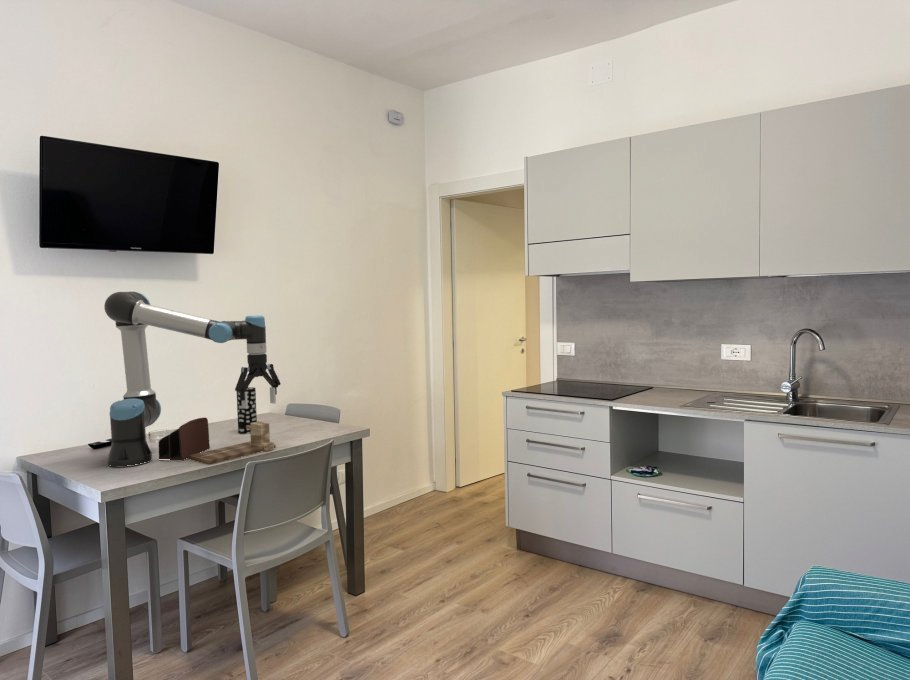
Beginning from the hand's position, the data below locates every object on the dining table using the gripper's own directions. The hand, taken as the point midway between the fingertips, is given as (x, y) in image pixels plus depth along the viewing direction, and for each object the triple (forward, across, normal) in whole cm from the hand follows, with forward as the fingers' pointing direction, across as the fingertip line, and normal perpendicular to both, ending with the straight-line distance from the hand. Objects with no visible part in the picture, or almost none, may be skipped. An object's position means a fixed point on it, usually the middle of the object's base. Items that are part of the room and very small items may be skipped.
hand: (259, 405), depth 263 cm
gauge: (+17, 0, +1) cm, 17 cm away
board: (+18, -11, +3) cm, 21 cm away
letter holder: (+18, -22, +18) cm, 34 cm away
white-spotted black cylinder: (+18, +17, +33) cm, 41 cm away
